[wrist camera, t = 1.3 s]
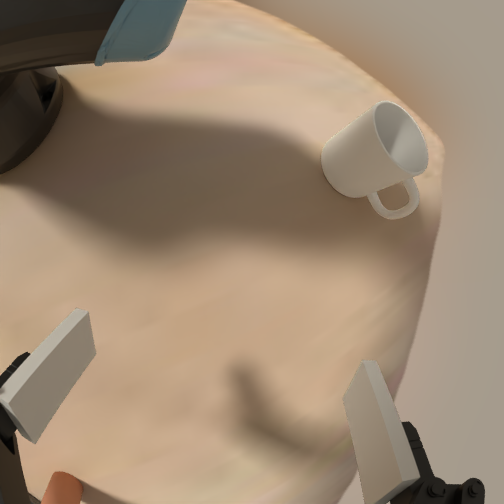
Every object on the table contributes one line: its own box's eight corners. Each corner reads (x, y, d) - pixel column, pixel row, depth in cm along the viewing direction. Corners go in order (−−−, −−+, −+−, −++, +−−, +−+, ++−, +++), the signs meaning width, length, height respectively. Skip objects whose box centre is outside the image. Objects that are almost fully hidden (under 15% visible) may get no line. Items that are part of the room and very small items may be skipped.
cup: (354, 133, 34) (404, 99, 25) (390, 215, 35) (450, 199, 25) (307, 144, 32) (358, 101, 22) (348, 237, 32) (413, 222, 23)
